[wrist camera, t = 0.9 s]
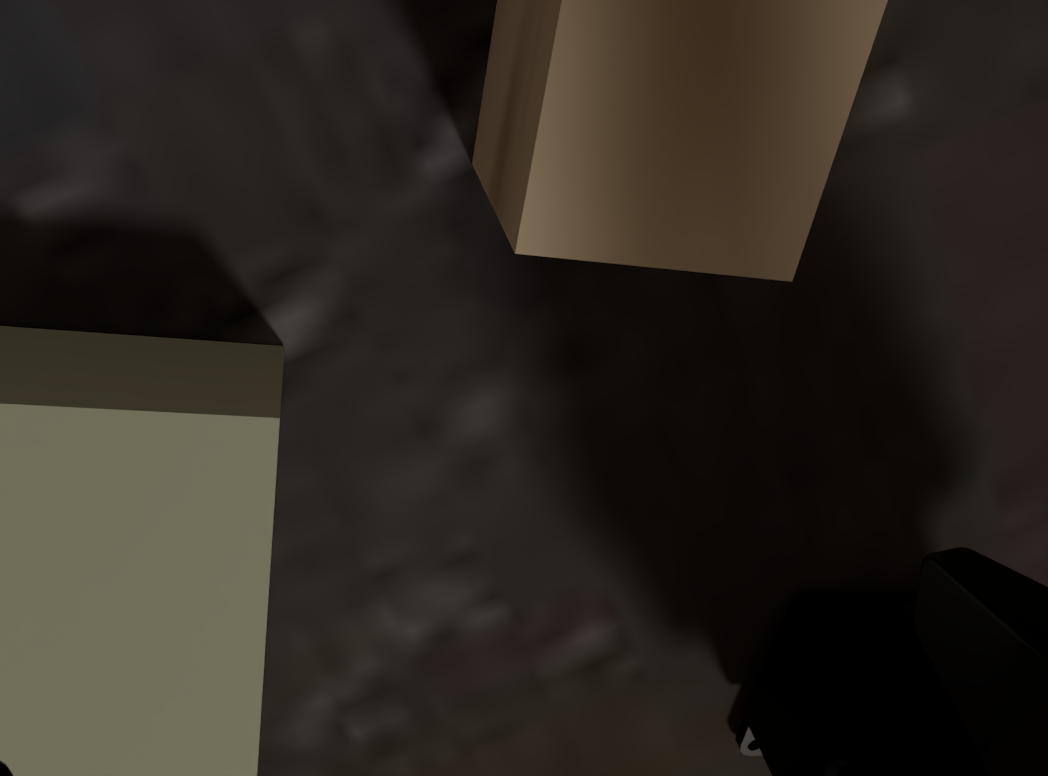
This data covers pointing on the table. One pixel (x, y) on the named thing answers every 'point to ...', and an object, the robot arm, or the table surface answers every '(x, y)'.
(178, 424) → the sage base
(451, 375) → the table surface
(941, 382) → the table surface
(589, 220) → the maple cube
